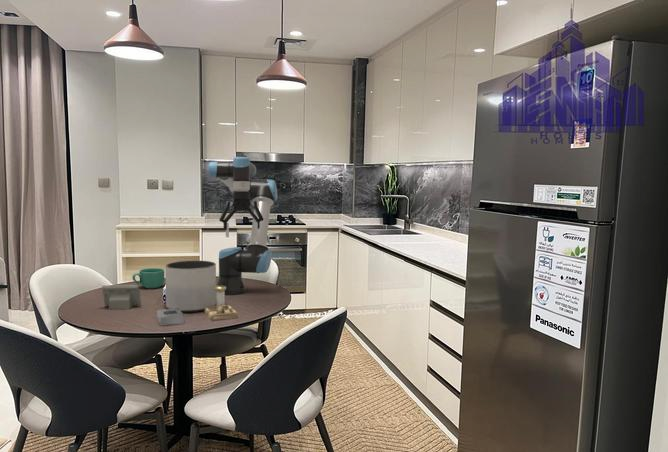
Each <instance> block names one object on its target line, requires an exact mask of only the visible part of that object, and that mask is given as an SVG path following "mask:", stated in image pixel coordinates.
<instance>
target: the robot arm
mask: <svg viewBox="0 0 668 452" xmlns="http://www.w3.org/2000/svg"><path fill="white" fill-rule="evenodd" d="M256 173H257V167H256V165H255V164H253V163H252V162H251V161H250V158H249V157H248V156H234V157H233V160H232V161H211V162H209V163H208V165H207V174H208V176H209V177H210V178H214V179H219V180H220V181H221V182H222V183H224V185H226V187H228V188H229V191H230V193H232V194H233V195H232V199H233V201H229V200H228V201H227V200H226V204H225V207H224V209H223V211H222V213H221V215H220V218H219V222H221V223H223V230H224V231H225V238H230V230H229V229H230V225H229V220H231V218H232V217H233V216H234V215H235V213H237V211H238V212H242V211H243V212H246V211H247V212H248V214H249V215H250V216H251V217H252V224H251V225H252V226H251V234H250V241H249V244H248V245H246V249H244V250H243V249H242V247H241V246H234V247H227V248H223V249H221V250H219V252H218V280H217V282H216V286H226V290H225V296H226V295H230V296H233V295H239V294H244V293H245V291H246V287H245V286H246V285H245V284H244V280H243V276H242V273H243V274H244V273H246V274H249V273H250V274H265V273H267V272H268V270H269V269H270V265H271V263H272V261H271V260H272V252H271V251H270V250H269V246H267V243H268V242H267V241H268V231H269V223H270V215H271V214H270V212H271V207H272V206H273V205H274V202H275V201H278V188H277V187H278V186H277V182H276V181H275V180H274V179H268V178H266V179H258V178H257V179H251V178H253V177H254V176H255V175H256ZM231 206H233V208H232V209H231V211H230V212H229V209H230V207H231ZM250 206H252V207H253V208H254V209H253V211H252V209H251V207H250ZM228 212H229V213H228ZM227 213H228V215H227Z"/></svg>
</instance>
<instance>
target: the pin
mask: <svg viewBox="0 0 668 452" xmlns="http://www.w3.org/2000/svg"><path fill="white" fill-rule="evenodd" d="M214 290H216V305H215V306H216V314H223V313H225V305H226V302H225V301H226V299H225V297H226V295H225V290H226V286H217V285H216V286H215V287H214Z"/></svg>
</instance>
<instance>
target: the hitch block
mask: <svg viewBox="0 0 668 452" xmlns="http://www.w3.org/2000/svg"><path fill="white" fill-rule="evenodd" d="M156 313H157V314H156V315H157V316H156V317H157V321H158V323H159V325H160V327H164V326H172V325H182V323H183V324H185V322H184V321H185V320H184V319H185V317H184V312H181V310H180V309H179V308H174V309H168V308H166V309H158V310H156Z"/></svg>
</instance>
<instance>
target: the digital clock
mask: <svg viewBox="0 0 668 452" xmlns="http://www.w3.org/2000/svg"><path fill="white" fill-rule="evenodd" d="M101 290H102V296H103V301H104V302H103V303H104V305H105V307H108V310H130V309H131V308H132V307H137V306H138V307H139V306H141V305H142V300H141V292H140V287H139V284H116V285H115V284H110V285H109V284H108V285H107V284H106V285H102V287H101Z"/></svg>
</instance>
